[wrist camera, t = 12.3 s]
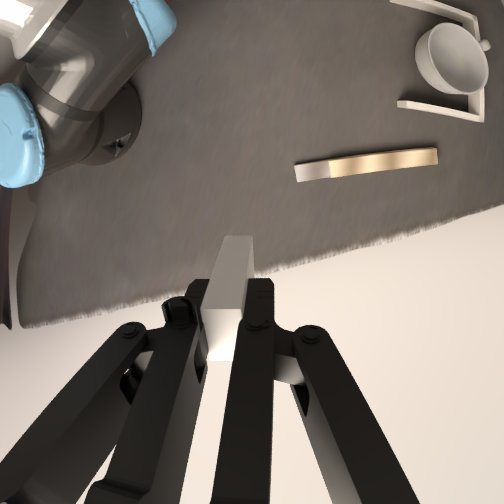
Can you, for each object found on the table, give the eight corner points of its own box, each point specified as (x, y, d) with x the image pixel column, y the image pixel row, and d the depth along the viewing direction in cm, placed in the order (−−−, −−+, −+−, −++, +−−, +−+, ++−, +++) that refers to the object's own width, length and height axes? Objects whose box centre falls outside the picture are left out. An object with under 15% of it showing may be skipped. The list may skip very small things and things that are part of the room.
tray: (397, 107, 37) (406, 107, 34) (389, -3, 29) (397, -10, 26) (472, 120, 36) (483, 123, 33) (465, 19, 28) (476, 16, 25)
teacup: (421, 100, 36) (447, 101, 29) (395, 36, 32) (417, 26, 25) (481, 84, 33) (509, 85, 26) (458, 26, 29) (484, 18, 22)
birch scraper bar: (297, 181, 44) (297, 183, 43) (293, 164, 43) (294, 166, 42) (433, 162, 41) (437, 164, 39) (432, 147, 39) (436, 148, 38)
